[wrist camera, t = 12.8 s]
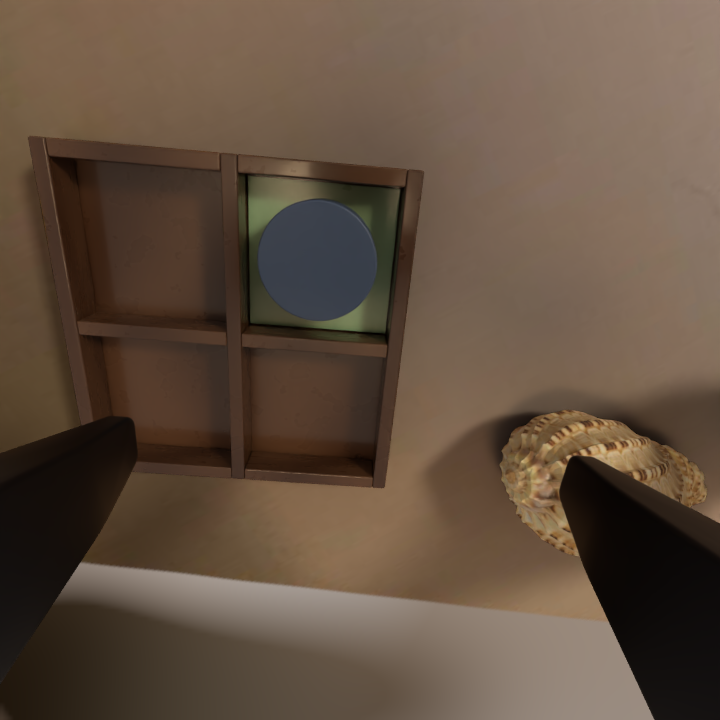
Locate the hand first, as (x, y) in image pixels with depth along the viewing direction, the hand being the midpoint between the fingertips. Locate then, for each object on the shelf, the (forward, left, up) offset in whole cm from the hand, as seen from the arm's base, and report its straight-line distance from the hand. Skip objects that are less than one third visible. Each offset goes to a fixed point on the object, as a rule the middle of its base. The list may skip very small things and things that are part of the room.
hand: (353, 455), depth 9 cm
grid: (+5, +1, -11) cm, 12 cm away
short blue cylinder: (+2, -3, -10) cm, 11 cm away
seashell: (-12, +7, -11) cm, 18 cm away
